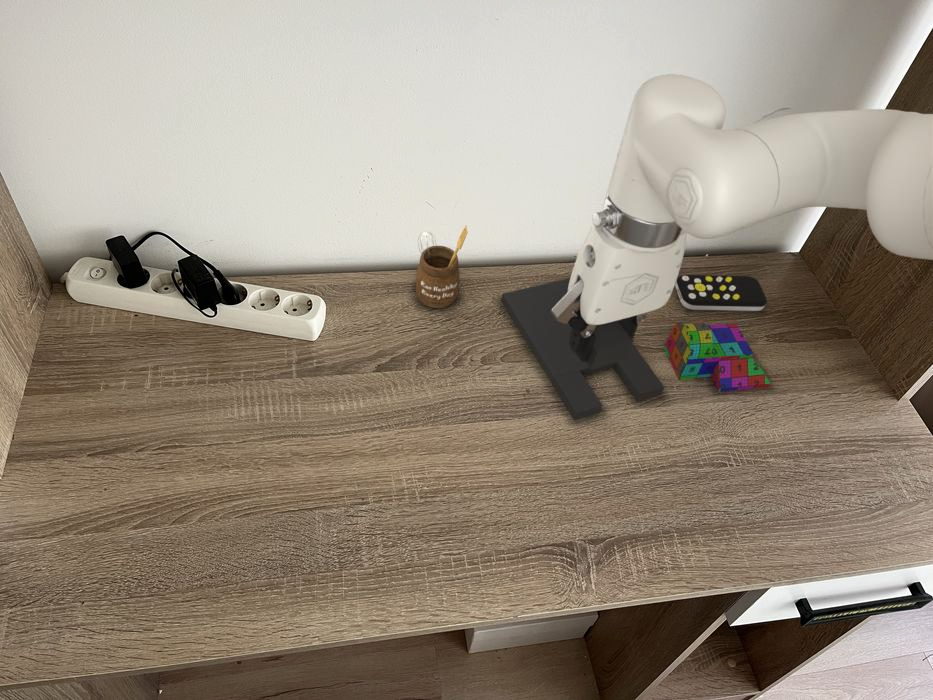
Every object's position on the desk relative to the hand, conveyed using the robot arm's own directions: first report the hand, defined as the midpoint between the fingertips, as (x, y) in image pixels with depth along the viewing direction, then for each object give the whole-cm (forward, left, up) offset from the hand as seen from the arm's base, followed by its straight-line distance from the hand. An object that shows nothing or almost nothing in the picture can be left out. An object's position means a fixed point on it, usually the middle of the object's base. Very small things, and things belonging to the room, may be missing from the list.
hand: (599, 345), depth 82 cm
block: (-9, -21, -15) cm, 27 cm away
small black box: (0, 0, -1) cm, 1 cm away
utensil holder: (+27, -5, -15) cm, 31 cm away
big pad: (+7, -11, -14) cm, 20 cm away
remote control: (-3, -34, -15) cm, 37 cm away
